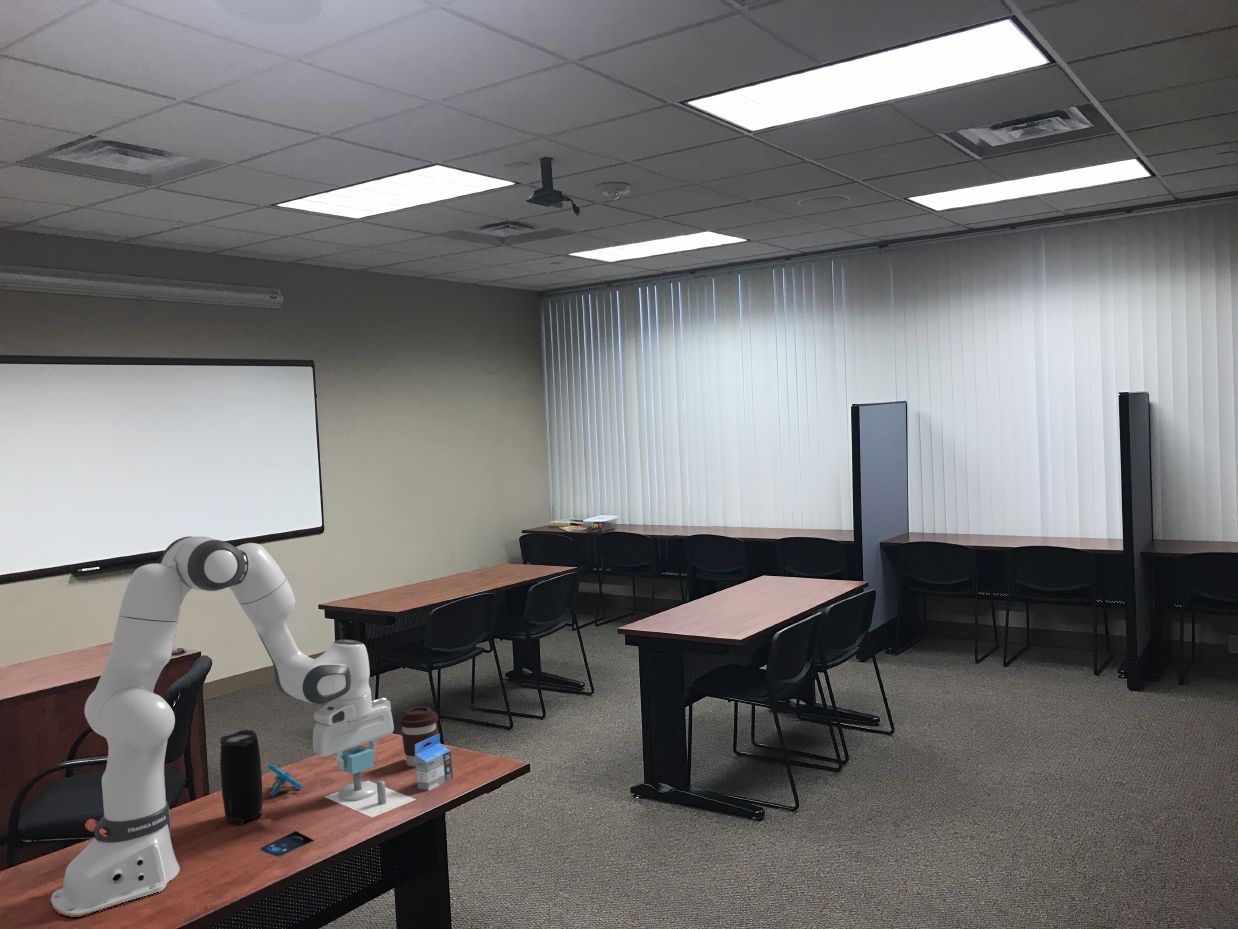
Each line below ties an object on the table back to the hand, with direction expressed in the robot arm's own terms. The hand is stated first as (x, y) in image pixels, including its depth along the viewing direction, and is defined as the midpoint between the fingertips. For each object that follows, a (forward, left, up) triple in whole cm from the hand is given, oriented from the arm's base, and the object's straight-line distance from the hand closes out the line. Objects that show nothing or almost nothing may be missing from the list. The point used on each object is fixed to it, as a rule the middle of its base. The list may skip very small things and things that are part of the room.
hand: (356, 763), depth 219 cm
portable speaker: (-22, +13, -9) cm, 27 cm away
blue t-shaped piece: (-8, +20, -9) cm, 24 cm away
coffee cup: (+22, +5, -9) cm, 24 cm away
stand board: (0, -5, -9) cm, 10 cm away
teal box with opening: (0, 0, -1) cm, 1 cm away
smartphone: (-20, -8, -9) cm, 24 cm away
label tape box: (+15, -10, -9) cm, 20 cm away
